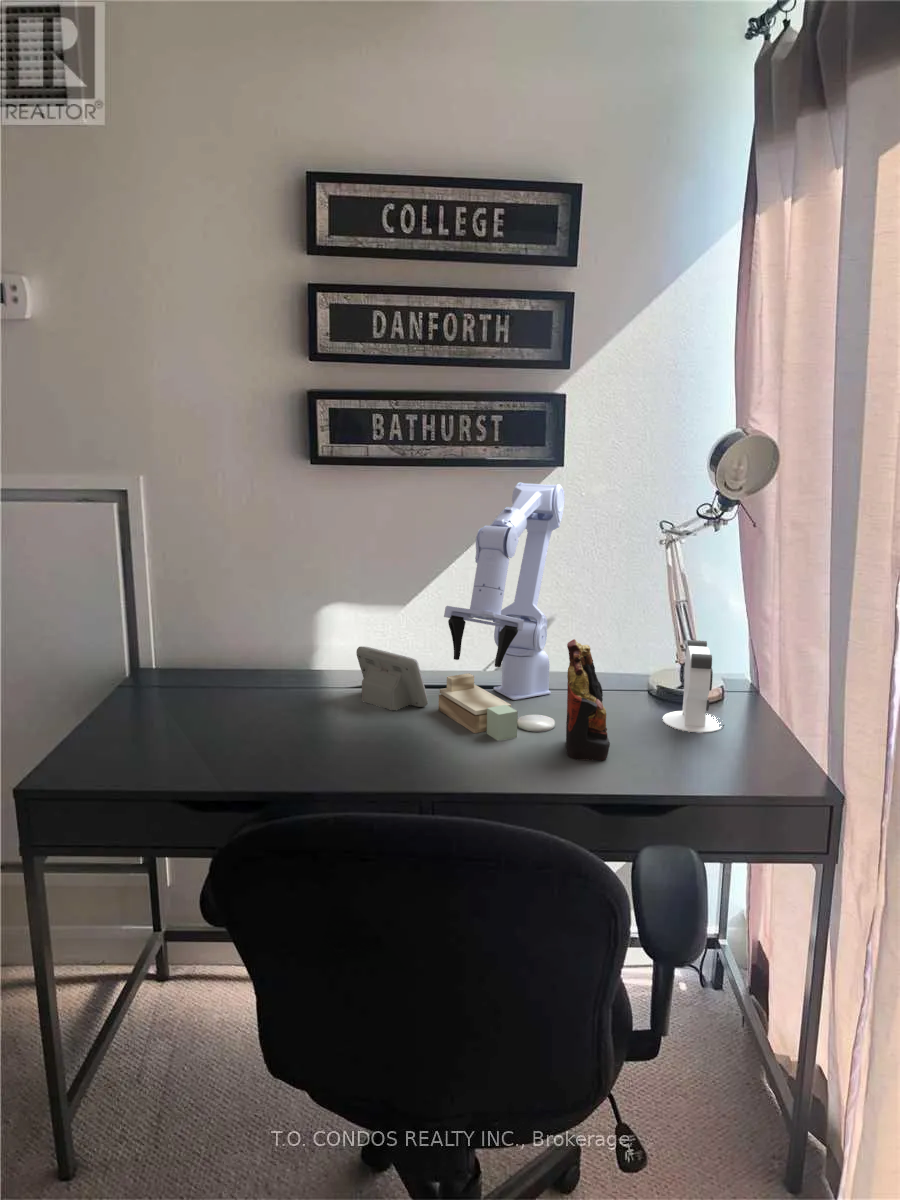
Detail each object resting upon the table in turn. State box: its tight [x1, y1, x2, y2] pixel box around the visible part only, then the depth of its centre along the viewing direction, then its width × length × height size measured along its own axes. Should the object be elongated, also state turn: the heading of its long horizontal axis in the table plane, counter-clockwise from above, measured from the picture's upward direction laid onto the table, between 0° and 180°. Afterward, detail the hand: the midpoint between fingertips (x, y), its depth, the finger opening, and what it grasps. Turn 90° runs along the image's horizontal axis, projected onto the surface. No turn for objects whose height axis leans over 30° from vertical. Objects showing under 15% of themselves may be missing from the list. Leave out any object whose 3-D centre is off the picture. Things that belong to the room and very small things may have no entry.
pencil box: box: [438, 693, 487, 734], centre depth 172 cm, size 8×14×3 cm, turn 29°
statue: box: [565, 638, 611, 761], centre depth 156 cm, size 12×8×20 cm, turn 169°
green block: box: [486, 705, 519, 742], centre depth 163 cm, size 4×4×5 cm
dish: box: [517, 714, 556, 733], centre depth 169 cm, size 7×7×1 cm
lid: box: [439, 673, 512, 715], centre depth 171 cm, size 8×14×3 cm, turn 29°
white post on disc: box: [662, 639, 722, 734], centre depth 169 cm, size 12×11×15 cm
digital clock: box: [355, 645, 429, 711], centre depth 180 cm, size 16×9×11 cm, turn 39°
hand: (476, 663), depth 163 cm, fingers open, 7 cm apart
